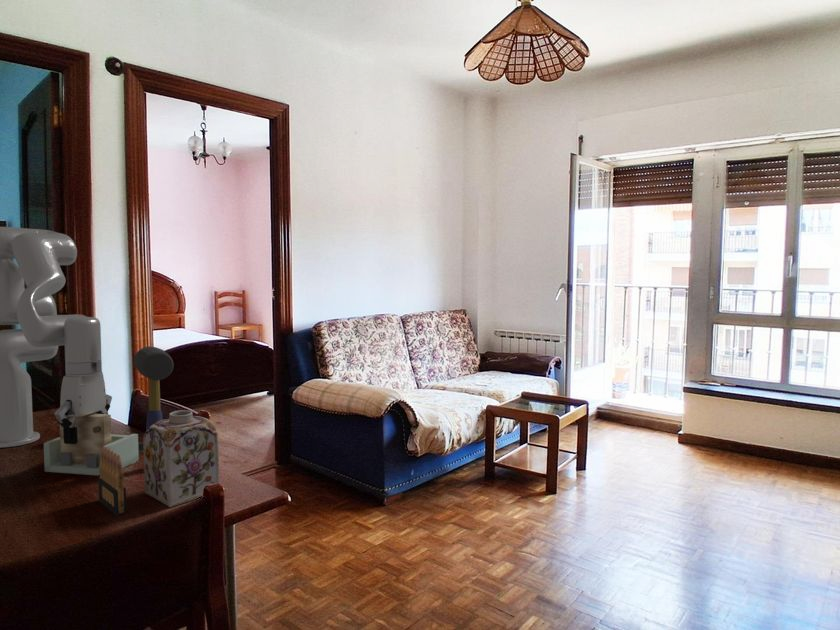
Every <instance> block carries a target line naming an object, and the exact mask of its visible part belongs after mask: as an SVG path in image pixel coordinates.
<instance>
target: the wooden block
mask: <svg viewBox="0 0 840 630" xmlns="http://www.w3.org/2000/svg"><path fill="white" fill-rule="evenodd" d="M72 419H73V418H70V420H69V421H70V422H71V421H72ZM75 427H77V435H78V443H77V444H65V443H64V435H63V428H62V427H61V425H60V424H59V437H60V449H61V453H62V452H67V453H72V464H86V465H87V455H88V454H96V455H98V465H99V466H100V453H101V448H102V446H103V445H104V446H105V445H108V444H110V443H112V441H111V434H112V416H111V414H109V413H108V414H90V415H87V416H84V417H81V418H79V419H78V421H77V423H76V425H75Z"/></svg>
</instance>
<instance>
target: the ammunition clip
mask: <svg viewBox="0 0 840 630" xmlns="http://www.w3.org/2000/svg"><path fill="white" fill-rule="evenodd" d="M99 470H100V476H99V477H98V483H97V484H98V502H99V503H100V504H102V505H103V506H104V507H105V508H107V509H108V510H109V511H110V512H112V513H113V514H114V515H115V516H121V515H124V514H127V513H128V512H127V489H126V487H125V478H124V477H125V476H124V475H125V474H124V469H122V461H121V457H120V455H118V456H117V454H116V453H114V452H113V451H111V450H110V449H108V448H107V447H105V446H104V445H103V446H102V448H101V453H100V466H99Z"/></svg>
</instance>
